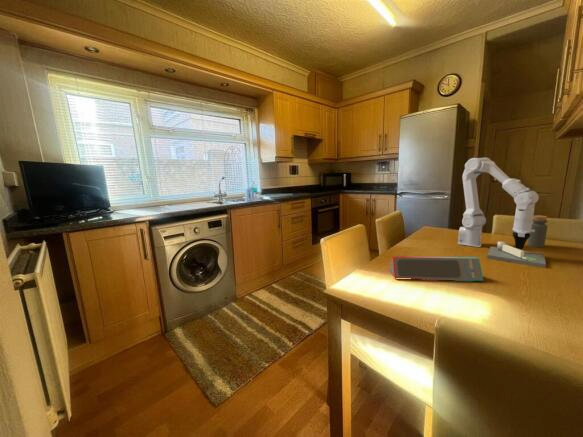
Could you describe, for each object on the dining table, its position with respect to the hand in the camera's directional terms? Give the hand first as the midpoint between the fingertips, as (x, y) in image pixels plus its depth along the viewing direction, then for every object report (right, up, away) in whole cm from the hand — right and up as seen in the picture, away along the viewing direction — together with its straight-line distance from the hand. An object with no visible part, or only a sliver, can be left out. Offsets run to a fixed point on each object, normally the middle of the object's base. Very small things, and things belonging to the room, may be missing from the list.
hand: (519, 248), depth 107 cm
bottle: (+20, 0, +12) cm, 23 cm away
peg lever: (-5, -2, -1) cm, 5 cm away
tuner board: (-3, -4, -1) cm, 5 cm away
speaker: (-47, -9, -15) cm, 50 cm away
